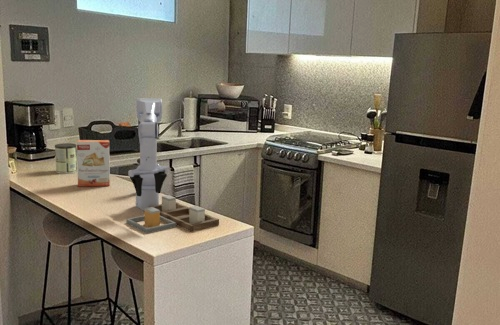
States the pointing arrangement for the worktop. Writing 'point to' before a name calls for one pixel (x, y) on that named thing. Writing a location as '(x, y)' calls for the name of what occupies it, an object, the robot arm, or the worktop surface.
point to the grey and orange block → (152, 217)
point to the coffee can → (66, 158)
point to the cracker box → (93, 163)
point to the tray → (148, 230)
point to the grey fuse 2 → (196, 214)
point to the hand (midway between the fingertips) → (148, 194)
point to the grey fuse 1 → (168, 203)
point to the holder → (186, 218)
